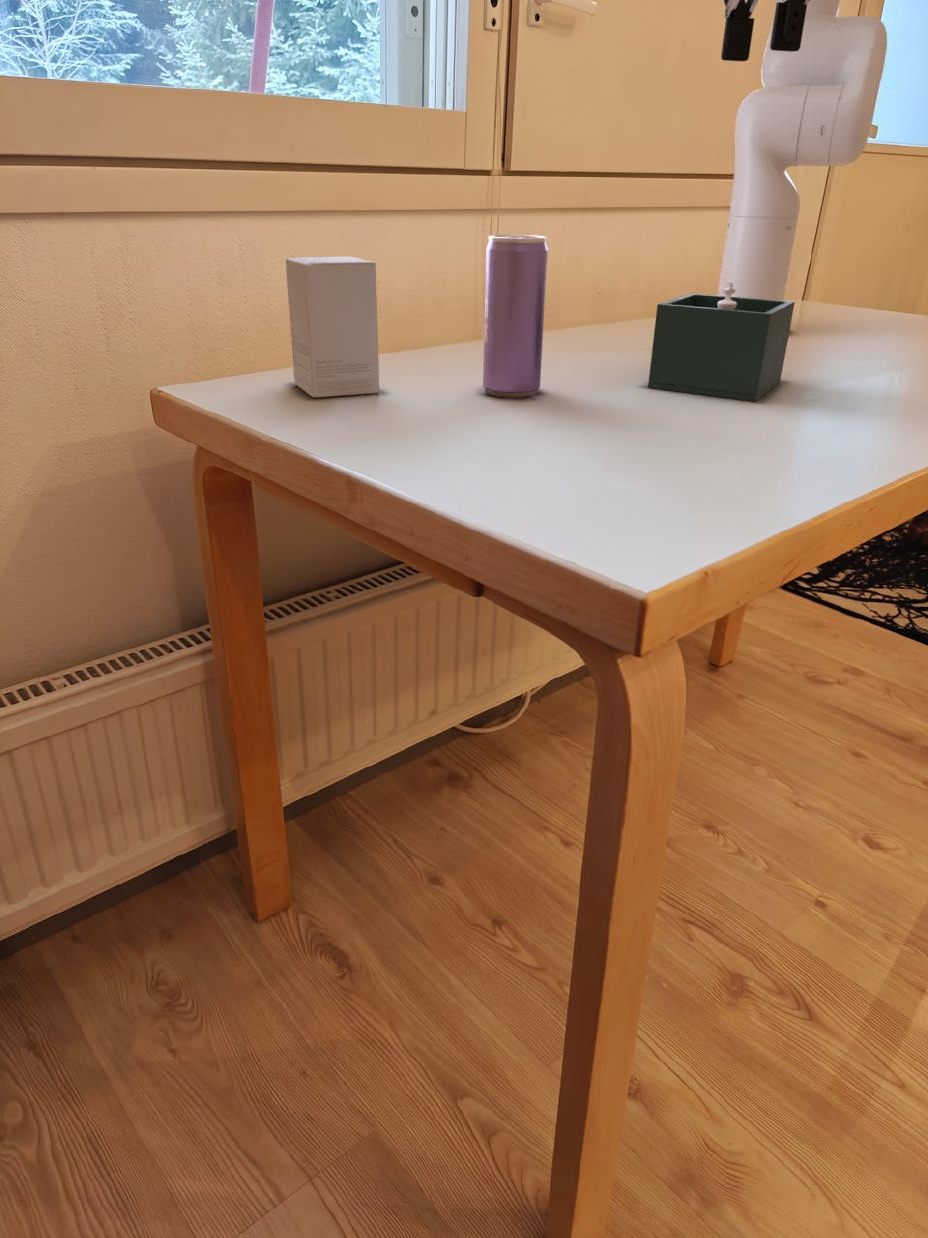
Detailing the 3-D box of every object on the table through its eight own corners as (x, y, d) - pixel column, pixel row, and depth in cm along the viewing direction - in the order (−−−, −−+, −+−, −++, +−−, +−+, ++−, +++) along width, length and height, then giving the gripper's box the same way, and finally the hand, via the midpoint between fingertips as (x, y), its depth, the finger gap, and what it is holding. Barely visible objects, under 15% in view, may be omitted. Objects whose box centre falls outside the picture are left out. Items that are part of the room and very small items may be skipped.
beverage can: (541, 399, 88) (550, 238, 81) (482, 398, 88) (486, 237, 81) (537, 386, 93) (546, 234, 86) (482, 385, 93) (486, 233, 86)
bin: (680, 369, 103) (690, 293, 99) (780, 381, 98) (794, 301, 94) (647, 387, 94) (657, 304, 90) (755, 401, 89) (770, 313, 85)
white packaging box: (381, 393, 89) (378, 261, 83) (311, 399, 86) (302, 262, 80) (359, 379, 95) (354, 254, 89) (292, 384, 92) (283, 256, 86)
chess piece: (684, 378, 95) (697, 281, 91) (708, 372, 98) (722, 279, 94) (723, 385, 92) (739, 286, 88) (747, 379, 95) (763, 283, 91)
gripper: (879, -176, 79) (838, 48, 86) (772, -122, 93) (746, 65, 101) (808, -186, 77) (772, 44, 85) (710, -129, 92) (688, 62, 99)
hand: (758, 55), depth 93 cm, fingers open, 9 cm apart
